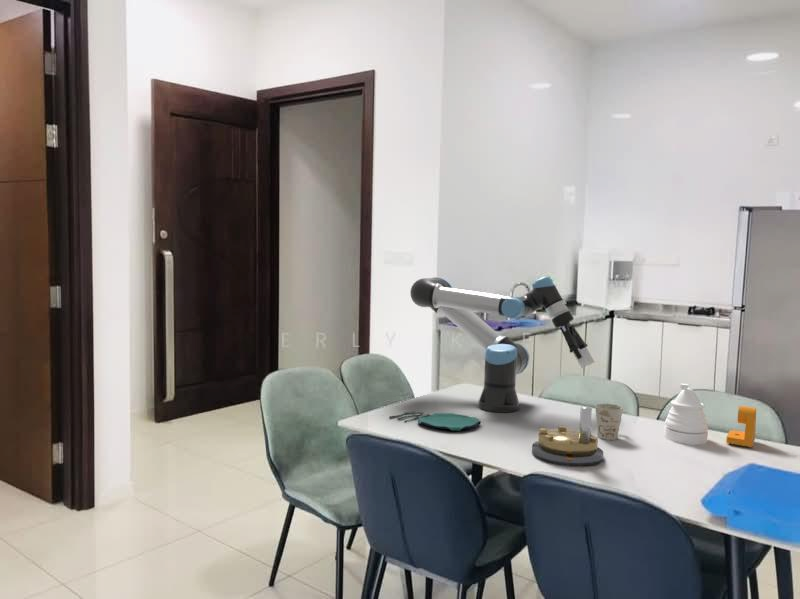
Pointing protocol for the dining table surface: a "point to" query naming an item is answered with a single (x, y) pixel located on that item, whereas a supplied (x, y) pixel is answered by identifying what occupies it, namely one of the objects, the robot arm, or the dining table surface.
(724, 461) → the dining table surface
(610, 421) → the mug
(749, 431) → the bracket
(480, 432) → the dining table surface
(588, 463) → the disc
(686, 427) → the honey pot
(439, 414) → the cutlery set
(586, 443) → the round peg stand
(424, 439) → the dining table surface
